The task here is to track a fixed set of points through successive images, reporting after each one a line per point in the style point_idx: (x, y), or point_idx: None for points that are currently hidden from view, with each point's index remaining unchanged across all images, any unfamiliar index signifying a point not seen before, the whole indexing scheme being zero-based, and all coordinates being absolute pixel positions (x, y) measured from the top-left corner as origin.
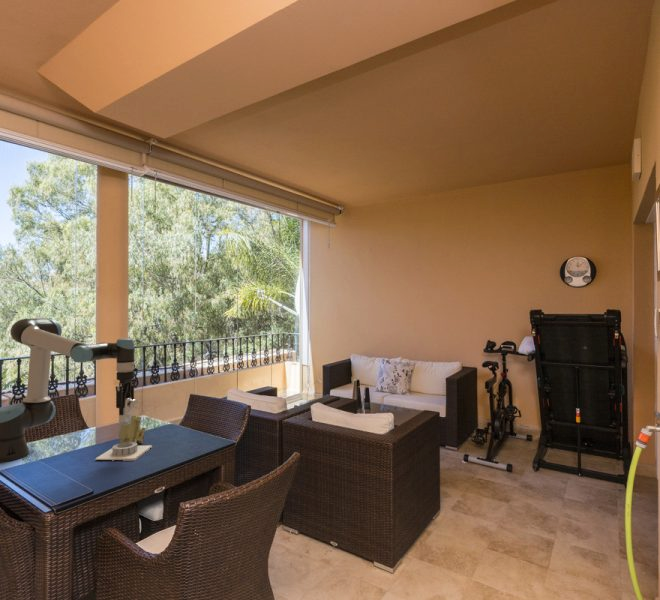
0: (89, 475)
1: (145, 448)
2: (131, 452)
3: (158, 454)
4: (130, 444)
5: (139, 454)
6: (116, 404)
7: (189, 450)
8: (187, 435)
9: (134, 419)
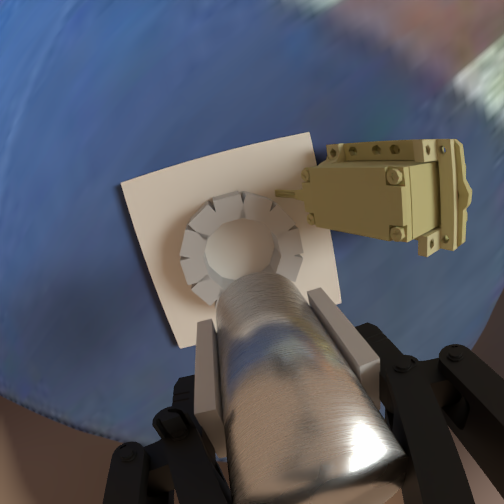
0: (22, 291)
1: None
2: None
3: None
4: (279, 256)
5: None
6: (110, 480)
7: None
8: (462, 318)
9: (421, 236)
